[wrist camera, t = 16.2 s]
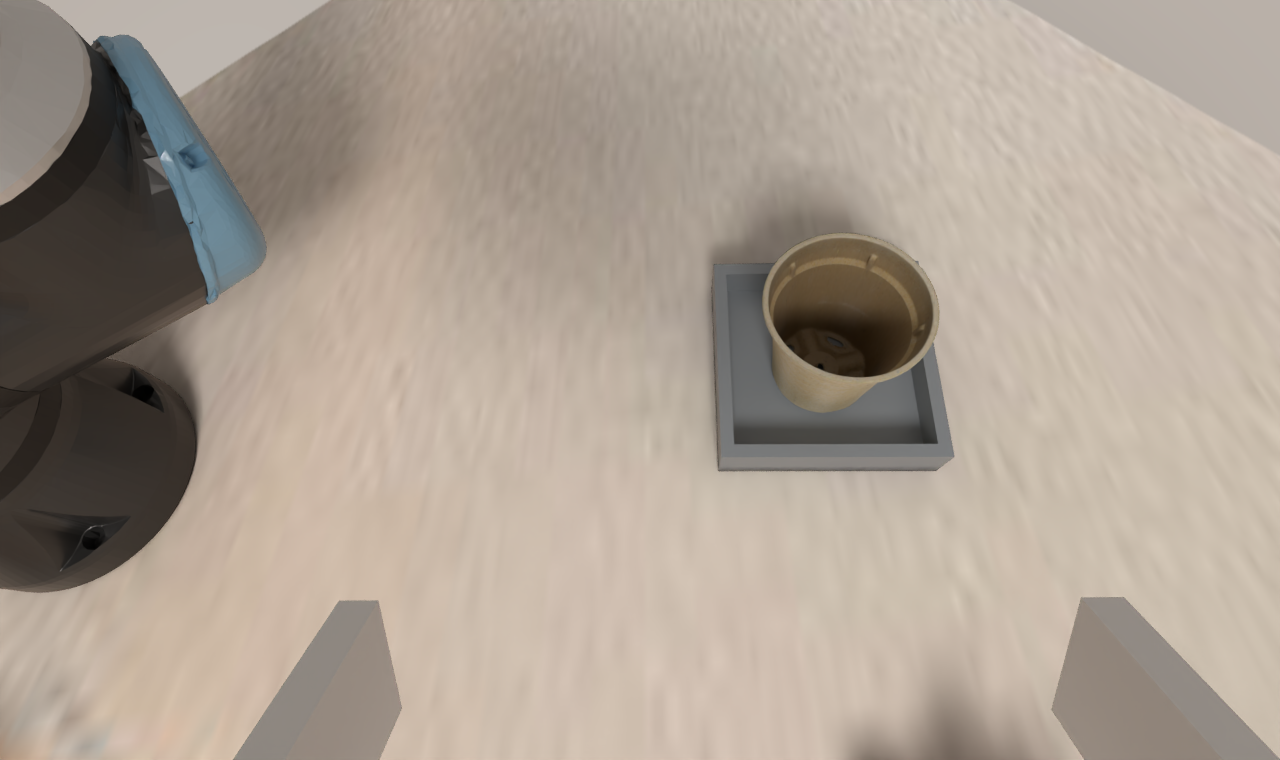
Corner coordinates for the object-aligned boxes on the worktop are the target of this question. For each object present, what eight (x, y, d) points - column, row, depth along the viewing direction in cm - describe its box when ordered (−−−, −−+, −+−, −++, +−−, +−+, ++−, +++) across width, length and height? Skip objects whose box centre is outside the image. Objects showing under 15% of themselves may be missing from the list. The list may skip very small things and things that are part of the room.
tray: (718, 471, 42) (721, 457, 39) (711, 287, 48) (713, 264, 45) (935, 470, 41) (954, 456, 39) (904, 284, 47) (918, 260, 44)
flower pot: (752, 300, 46) (768, 224, 38) (891, 314, 45) (936, 238, 37) (741, 427, 42) (756, 372, 34) (892, 444, 41) (943, 392, 34)
